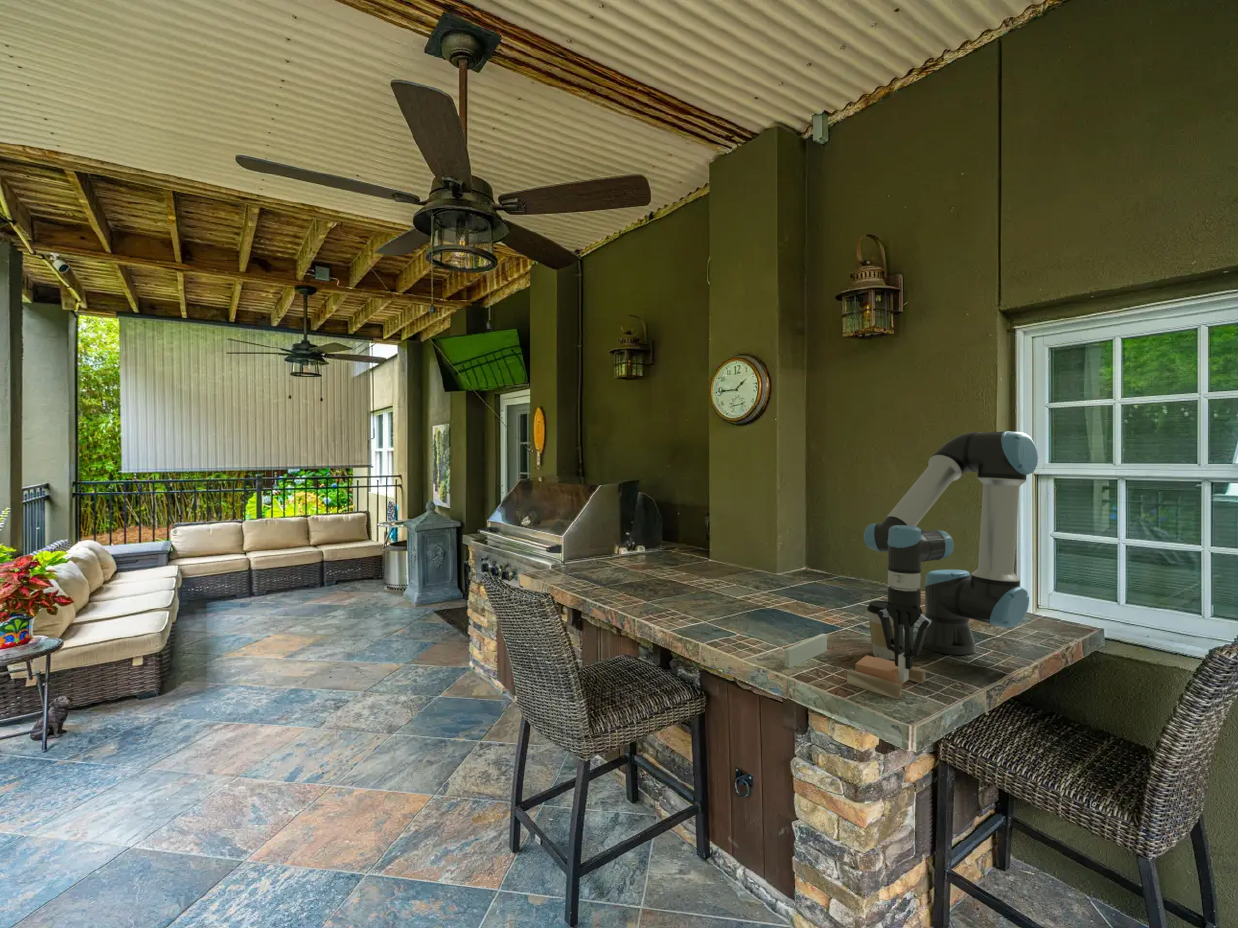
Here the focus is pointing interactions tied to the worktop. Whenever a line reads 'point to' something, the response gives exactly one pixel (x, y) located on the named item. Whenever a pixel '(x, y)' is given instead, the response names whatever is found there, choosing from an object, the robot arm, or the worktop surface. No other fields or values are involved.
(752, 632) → the worktop surface
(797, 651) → the board
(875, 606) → the coffee cup
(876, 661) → the block
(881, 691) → the chute
